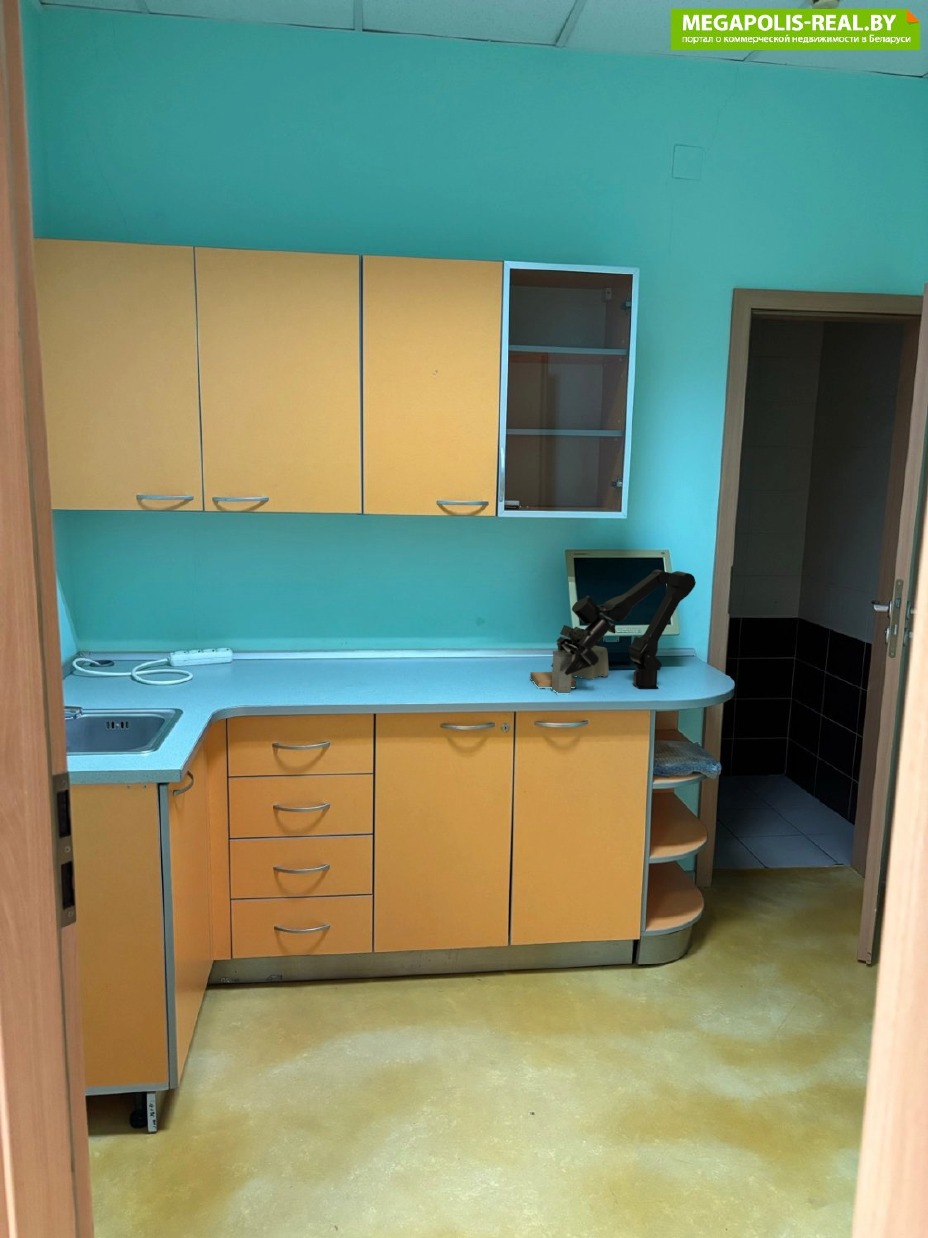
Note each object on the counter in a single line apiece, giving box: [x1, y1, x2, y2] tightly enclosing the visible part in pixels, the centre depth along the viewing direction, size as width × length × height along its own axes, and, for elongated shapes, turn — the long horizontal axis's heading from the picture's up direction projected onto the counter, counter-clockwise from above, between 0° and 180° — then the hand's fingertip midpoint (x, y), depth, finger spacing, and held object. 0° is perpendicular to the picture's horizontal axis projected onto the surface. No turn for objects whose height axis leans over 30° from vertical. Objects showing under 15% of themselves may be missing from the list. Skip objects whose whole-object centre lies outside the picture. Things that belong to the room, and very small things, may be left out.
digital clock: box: [571, 645, 610, 680], centre depth 308 cm, size 16×9×11 cm, turn 53°
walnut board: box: [529, 671, 577, 688], centre depth 297 cm, size 12×12×2 cm
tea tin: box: [551, 649, 573, 693], centre depth 285 cm, size 4×5×13 cm
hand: (558, 670), depth 285 cm, fingers open, 9 cm apart
